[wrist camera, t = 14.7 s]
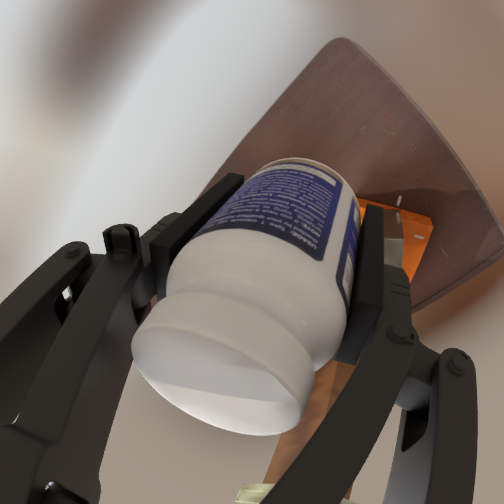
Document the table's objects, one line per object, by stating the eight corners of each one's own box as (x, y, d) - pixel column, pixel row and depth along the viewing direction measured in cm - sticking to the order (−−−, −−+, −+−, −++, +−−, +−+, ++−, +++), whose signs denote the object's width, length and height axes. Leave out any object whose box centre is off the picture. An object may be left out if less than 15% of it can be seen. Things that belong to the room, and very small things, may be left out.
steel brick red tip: (382, 208, 41) (382, 239, 34) (399, 209, 40) (404, 240, 33) (381, 247, 44) (380, 282, 37) (397, 247, 43) (400, 283, 36)
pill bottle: (222, 204, 16) (90, 346, 9) (301, 128, 13) (172, 254, 5) (299, 281, 17) (228, 451, 9) (386, 224, 14) (375, 431, 6)
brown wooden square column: (354, 262, 50) (297, 505, 21) (390, 300, 51) (361, 525, 22) (311, 291, 56) (234, 501, 27) (348, 324, 57) (296, 524, 28)
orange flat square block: (436, 198, 40) (440, 208, 37) (409, 271, 47) (410, 283, 45) (358, 176, 42) (357, 184, 40) (339, 253, 50) (337, 264, 48)
